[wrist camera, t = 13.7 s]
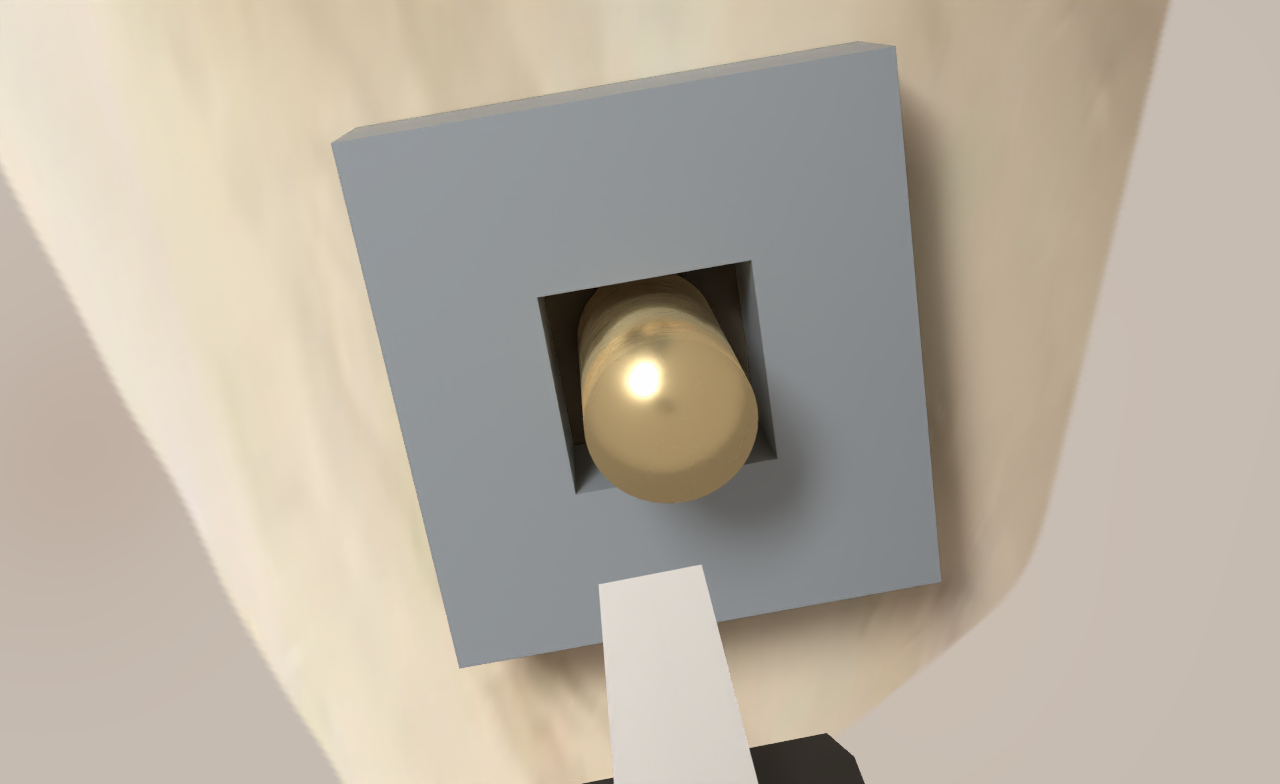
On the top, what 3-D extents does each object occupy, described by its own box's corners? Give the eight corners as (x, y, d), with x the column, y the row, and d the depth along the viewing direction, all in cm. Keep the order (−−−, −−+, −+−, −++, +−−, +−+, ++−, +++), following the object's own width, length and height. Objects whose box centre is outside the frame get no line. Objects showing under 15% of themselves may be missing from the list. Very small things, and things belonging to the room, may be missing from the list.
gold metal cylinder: (565, 282, 36) (568, 356, 28) (704, 257, 36) (744, 323, 28) (591, 414, 37) (601, 517, 30) (725, 388, 37) (769, 485, 30)
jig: (355, 127, 34) (330, 143, 30) (857, 41, 34) (895, 46, 30) (468, 604, 39) (459, 668, 35) (904, 526, 39) (941, 582, 36)
